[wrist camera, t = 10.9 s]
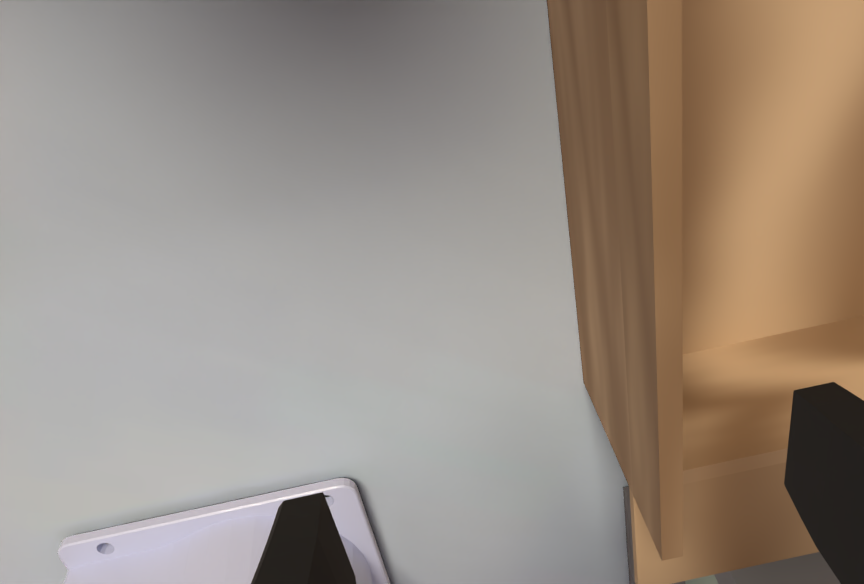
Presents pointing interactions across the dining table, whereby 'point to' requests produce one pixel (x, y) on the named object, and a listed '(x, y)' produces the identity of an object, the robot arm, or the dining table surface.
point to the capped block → (777, 573)
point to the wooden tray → (712, 253)
